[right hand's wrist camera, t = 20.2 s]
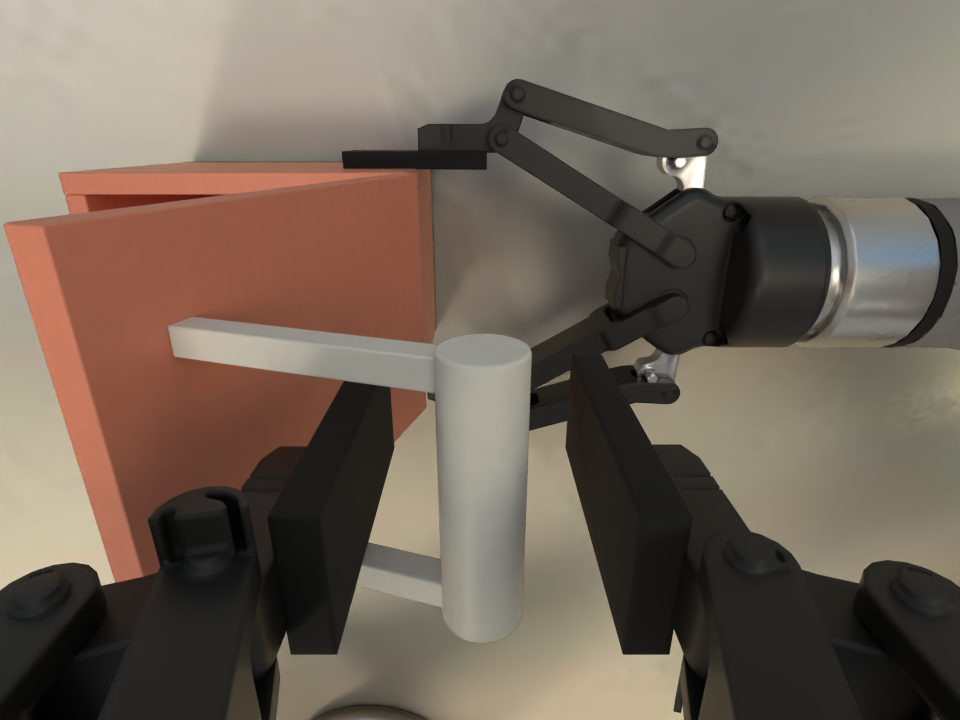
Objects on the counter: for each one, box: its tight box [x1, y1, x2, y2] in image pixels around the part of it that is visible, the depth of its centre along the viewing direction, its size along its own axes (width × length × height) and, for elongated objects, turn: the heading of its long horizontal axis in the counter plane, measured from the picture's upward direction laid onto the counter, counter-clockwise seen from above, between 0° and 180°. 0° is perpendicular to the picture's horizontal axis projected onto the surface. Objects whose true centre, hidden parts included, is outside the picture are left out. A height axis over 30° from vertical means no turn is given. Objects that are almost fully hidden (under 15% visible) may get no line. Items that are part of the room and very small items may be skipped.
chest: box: [59, 162, 437, 344], centre depth 29 cm, size 14×10×11 cm
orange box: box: [4, 173, 532, 643], centre depth 16 cm, size 15×10×8 cm
